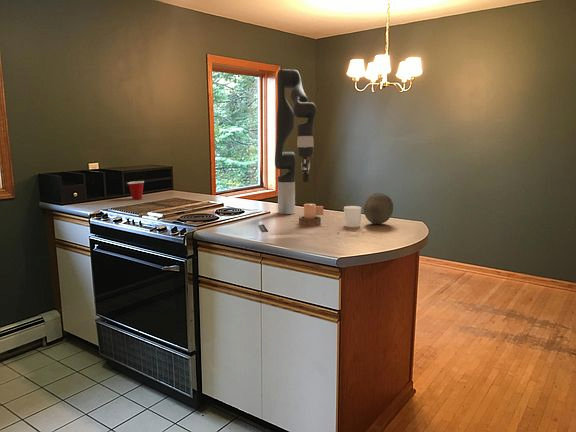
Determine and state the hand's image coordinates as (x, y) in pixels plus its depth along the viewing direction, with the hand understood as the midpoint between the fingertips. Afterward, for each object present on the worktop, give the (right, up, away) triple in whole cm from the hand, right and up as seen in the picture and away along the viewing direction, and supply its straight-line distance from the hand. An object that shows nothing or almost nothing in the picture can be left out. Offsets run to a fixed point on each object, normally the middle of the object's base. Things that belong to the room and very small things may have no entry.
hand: (306, 181), depth 215 cm
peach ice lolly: (+3, -20, -2) cm, 20 cm away
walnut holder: (+2, -21, -2) cm, 21 cm away
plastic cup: (-110, -5, +93) cm, 144 cm away
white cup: (+21, -22, -6) cm, 31 cm away
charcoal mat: (-15, -22, -4) cm, 27 cm away
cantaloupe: (+34, -21, +3) cm, 40 cm away
